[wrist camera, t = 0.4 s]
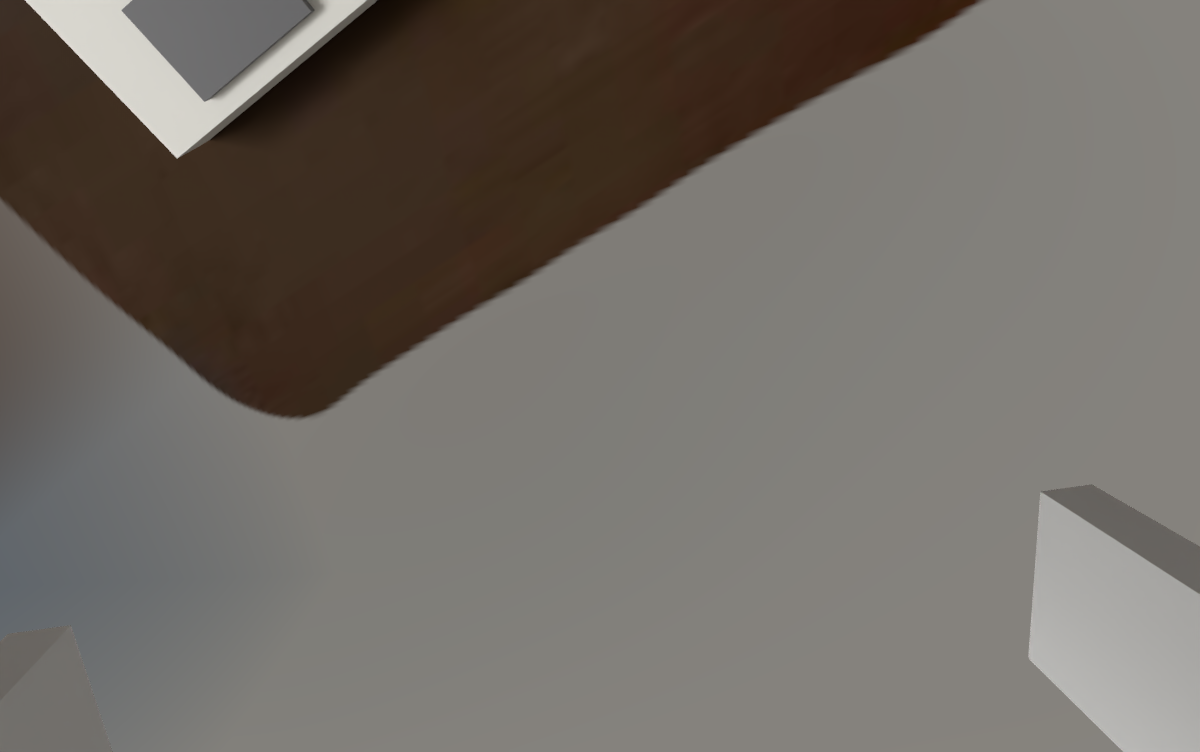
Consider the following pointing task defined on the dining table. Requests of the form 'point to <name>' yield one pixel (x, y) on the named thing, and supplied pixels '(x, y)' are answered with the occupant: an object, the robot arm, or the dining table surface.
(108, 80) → the socket board
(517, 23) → the dining table surface
